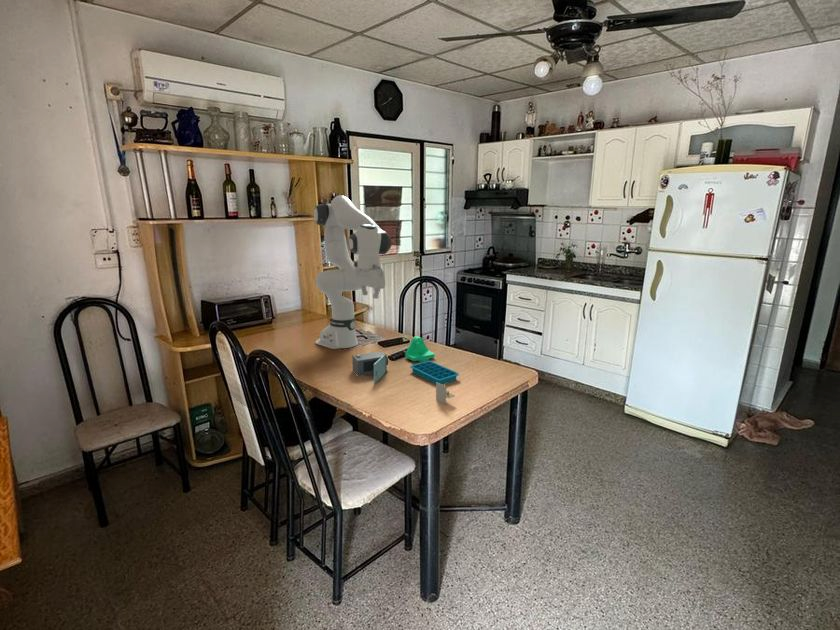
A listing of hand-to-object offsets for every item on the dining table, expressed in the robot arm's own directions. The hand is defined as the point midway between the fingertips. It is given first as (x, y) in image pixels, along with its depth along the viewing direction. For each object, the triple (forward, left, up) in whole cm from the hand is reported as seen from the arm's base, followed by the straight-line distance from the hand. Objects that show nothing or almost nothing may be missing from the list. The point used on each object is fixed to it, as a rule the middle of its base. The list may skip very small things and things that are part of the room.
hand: (370, 296), depth 185 cm
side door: (+9, -7, -32) cm, 34 cm away
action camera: (+1, -2, -32) cm, 33 cm away
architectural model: (+42, -15, -33) cm, 55 cm away
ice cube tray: (+28, +6, -33) cm, 43 cm away
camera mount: (+12, +22, -33) cm, 42 cm away
